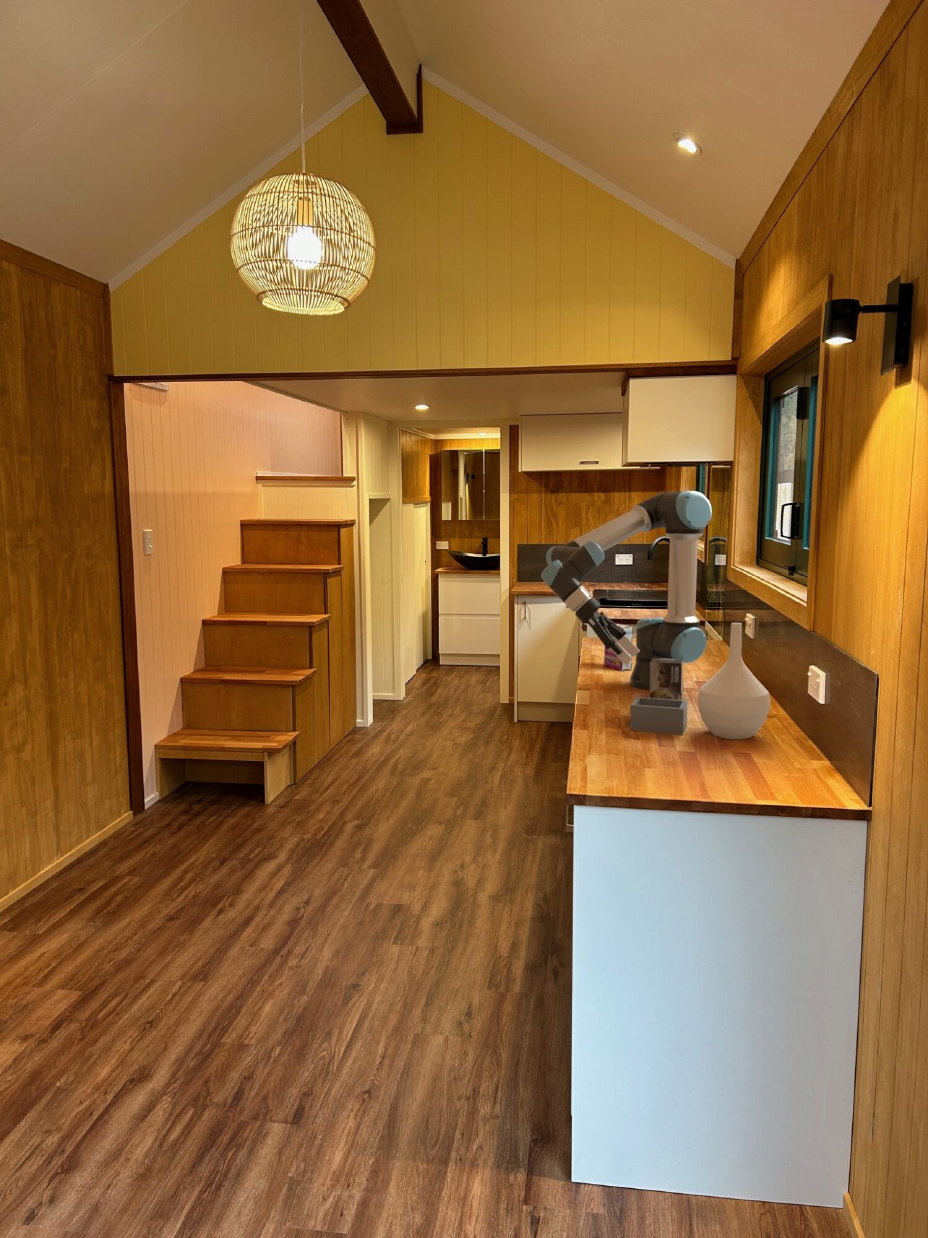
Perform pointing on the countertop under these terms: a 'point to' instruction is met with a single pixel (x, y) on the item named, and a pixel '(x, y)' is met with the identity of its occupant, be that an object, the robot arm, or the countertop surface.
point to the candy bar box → (610, 656)
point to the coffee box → (666, 678)
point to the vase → (734, 696)
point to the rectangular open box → (658, 715)
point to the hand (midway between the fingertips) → (633, 658)
